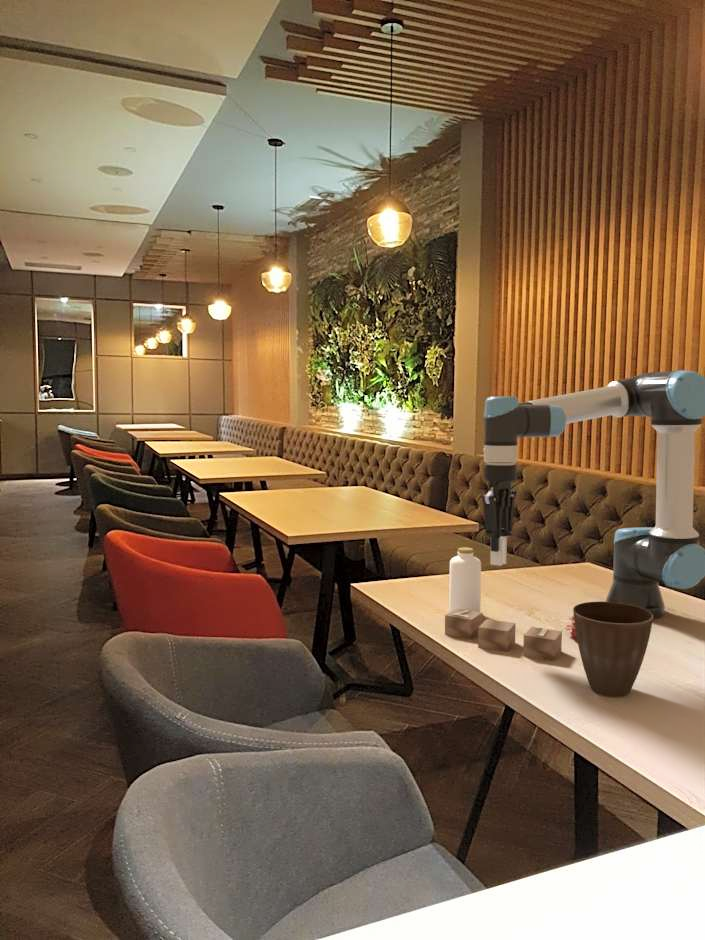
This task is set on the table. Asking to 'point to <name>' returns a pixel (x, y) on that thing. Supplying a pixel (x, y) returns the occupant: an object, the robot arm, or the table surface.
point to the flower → (572, 627)
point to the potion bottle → (465, 581)
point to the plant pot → (612, 644)
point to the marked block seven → (463, 623)
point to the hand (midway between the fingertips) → (498, 563)
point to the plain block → (496, 635)
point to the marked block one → (542, 643)
